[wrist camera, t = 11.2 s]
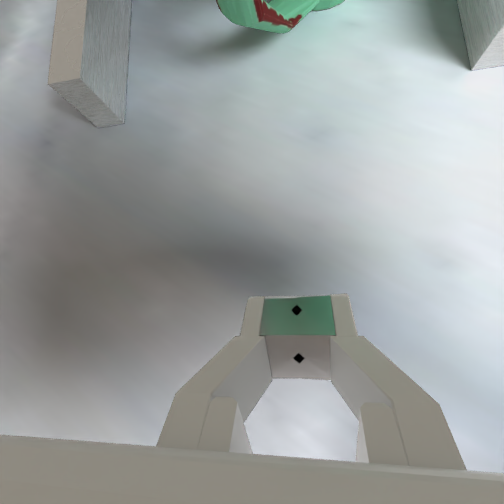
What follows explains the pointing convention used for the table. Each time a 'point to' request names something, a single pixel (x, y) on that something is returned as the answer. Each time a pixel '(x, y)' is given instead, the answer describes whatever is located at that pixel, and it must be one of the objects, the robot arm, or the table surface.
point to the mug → (271, 12)
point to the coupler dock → (117, 50)
